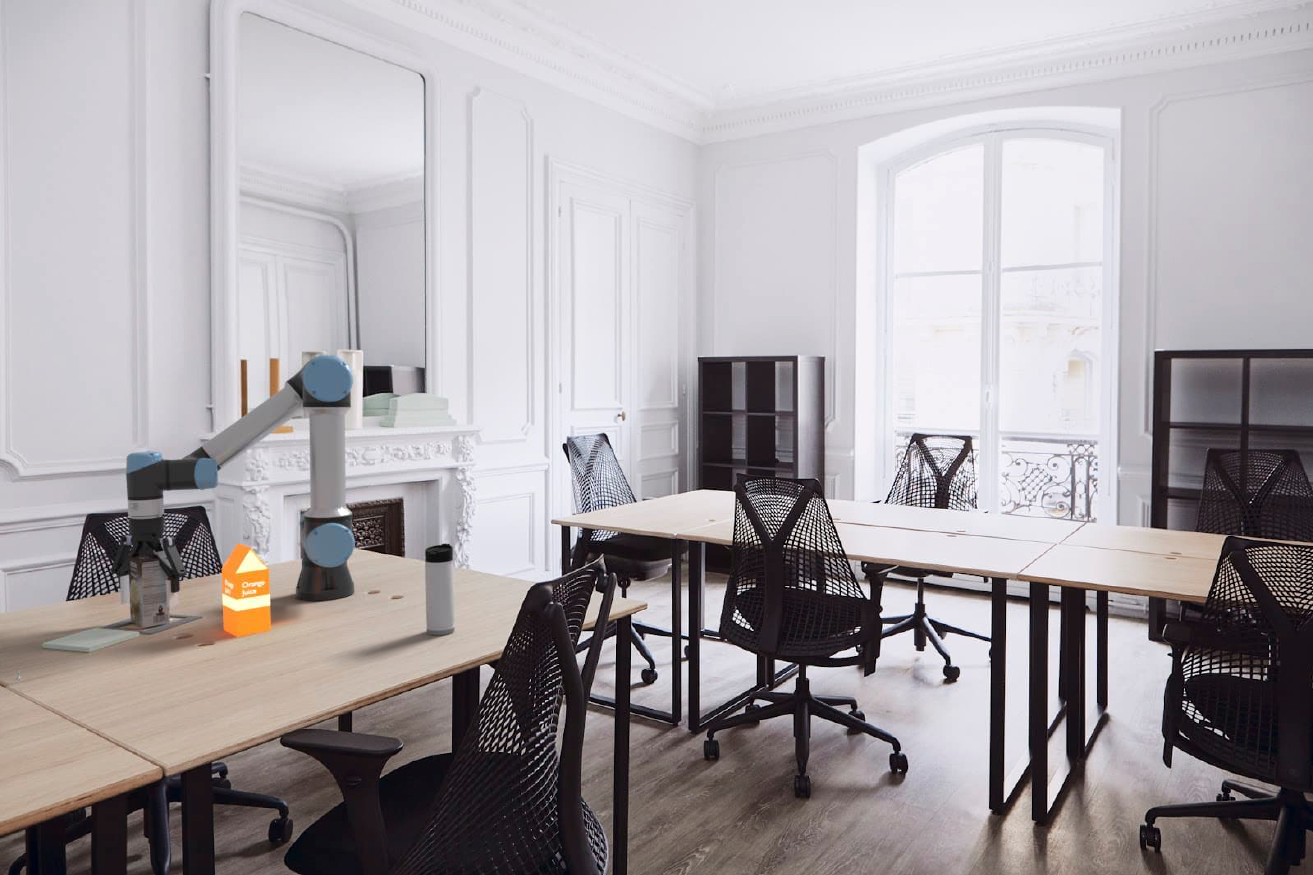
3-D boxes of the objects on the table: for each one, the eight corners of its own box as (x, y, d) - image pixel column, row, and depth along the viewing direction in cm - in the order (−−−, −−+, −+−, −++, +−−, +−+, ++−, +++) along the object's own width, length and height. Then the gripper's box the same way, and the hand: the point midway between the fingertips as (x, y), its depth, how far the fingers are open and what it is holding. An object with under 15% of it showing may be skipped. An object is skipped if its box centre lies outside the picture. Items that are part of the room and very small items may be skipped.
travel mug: (460, 629, 209) (458, 544, 208) (445, 636, 203) (443, 549, 202) (437, 627, 211) (435, 542, 210) (421, 634, 205) (419, 547, 204)
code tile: (202, 617, 221) (202, 616, 221) (151, 634, 207) (151, 633, 207) (149, 613, 226) (149, 612, 226) (96, 629, 211) (96, 628, 211)
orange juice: (257, 623, 216) (254, 541, 215) (271, 630, 209) (268, 545, 208) (222, 630, 210) (219, 545, 209) (236, 637, 204) (233, 550, 203)
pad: (139, 636, 205) (139, 631, 205) (89, 652, 193) (89, 647, 193) (94, 632, 209) (94, 628, 209) (42, 647, 196) (42, 643, 196)
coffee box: (129, 621, 217) (126, 555, 216) (158, 616, 222) (155, 552, 221) (142, 628, 211) (139, 560, 210) (171, 623, 215) (169, 556, 214)
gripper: (91, 517, 215) (95, 604, 216) (176, 520, 208) (179, 611, 209) (118, 512, 222) (121, 597, 223) (201, 516, 215) (204, 603, 216)
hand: (149, 604), depth 216 cm, fingers open, 13 cm apart
